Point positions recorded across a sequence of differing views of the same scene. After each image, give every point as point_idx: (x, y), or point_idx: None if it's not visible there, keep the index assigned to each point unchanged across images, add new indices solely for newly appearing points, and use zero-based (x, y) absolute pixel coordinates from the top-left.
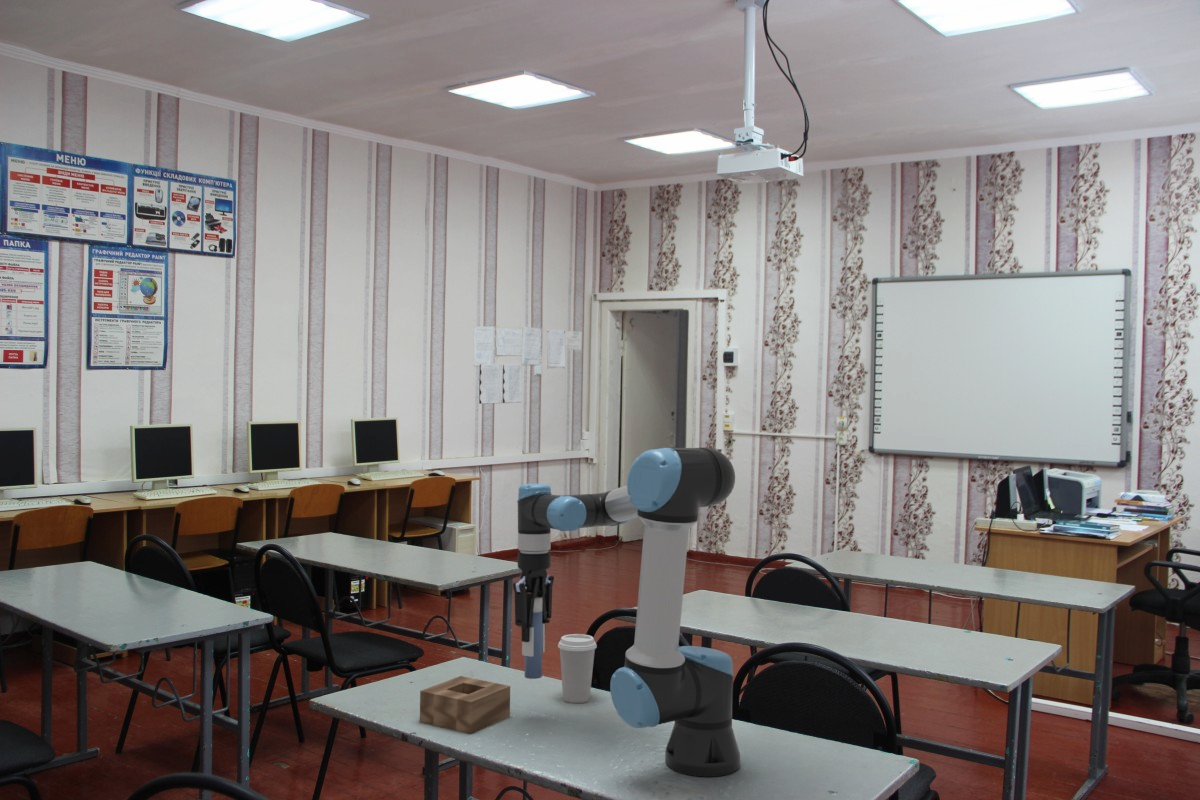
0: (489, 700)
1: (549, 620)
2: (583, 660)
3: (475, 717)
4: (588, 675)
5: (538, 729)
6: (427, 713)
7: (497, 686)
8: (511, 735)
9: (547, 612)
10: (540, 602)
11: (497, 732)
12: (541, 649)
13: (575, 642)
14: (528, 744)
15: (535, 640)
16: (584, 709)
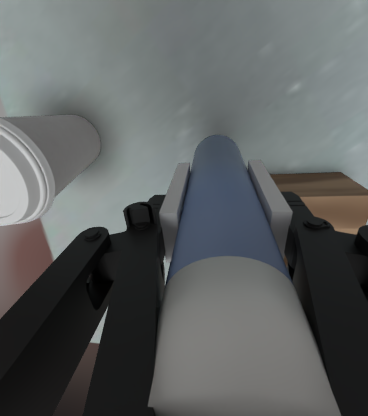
0: (302, 191)
1: (127, 209)
2: (30, 125)
3: (340, 181)
4: (39, 116)
5: (260, 86)
6: None
7: None
8: (317, 108)
9: (98, 258)
10: (245, 336)
11: (312, 140)
12: (212, 158)
13: (11, 157)
14: (357, 38)
15: (246, 179)
16: (107, 88)
